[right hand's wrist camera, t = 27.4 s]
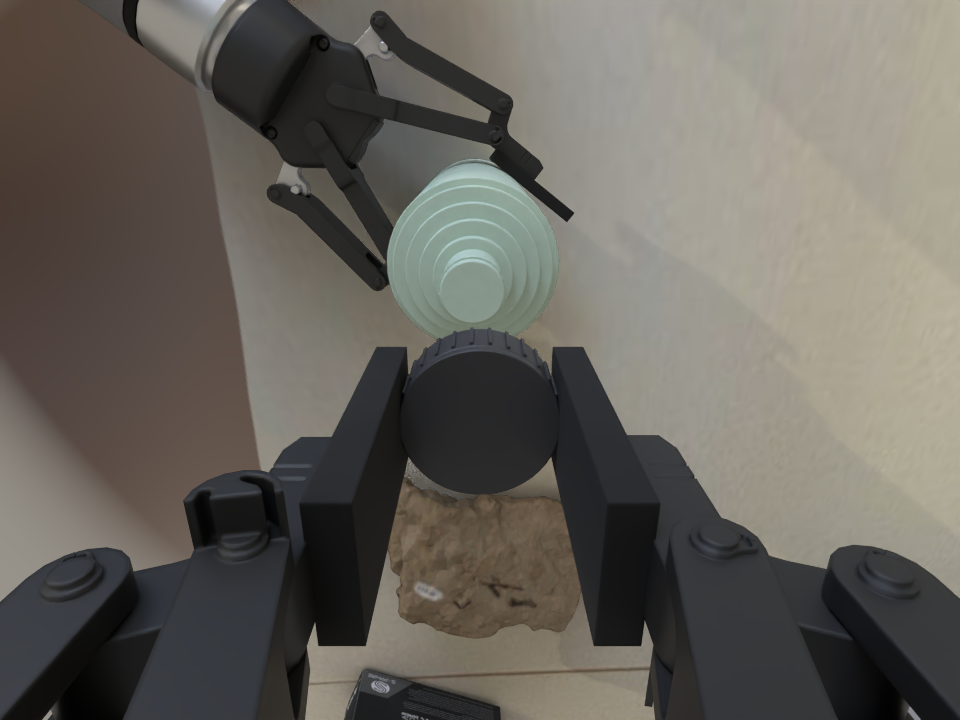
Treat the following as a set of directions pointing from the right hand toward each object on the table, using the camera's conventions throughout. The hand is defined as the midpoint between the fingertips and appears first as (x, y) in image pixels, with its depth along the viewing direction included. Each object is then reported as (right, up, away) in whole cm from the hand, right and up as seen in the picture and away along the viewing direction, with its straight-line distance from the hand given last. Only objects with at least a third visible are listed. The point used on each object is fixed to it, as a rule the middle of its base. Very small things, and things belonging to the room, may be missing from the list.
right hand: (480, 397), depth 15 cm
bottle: (0, +13, +31) cm, 33 cm away
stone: (+1, -17, +42) cm, 46 cm away
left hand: (+3, +8, +26) cm, 27 cm away
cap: (0, 0, -1) cm, 1 cm away
